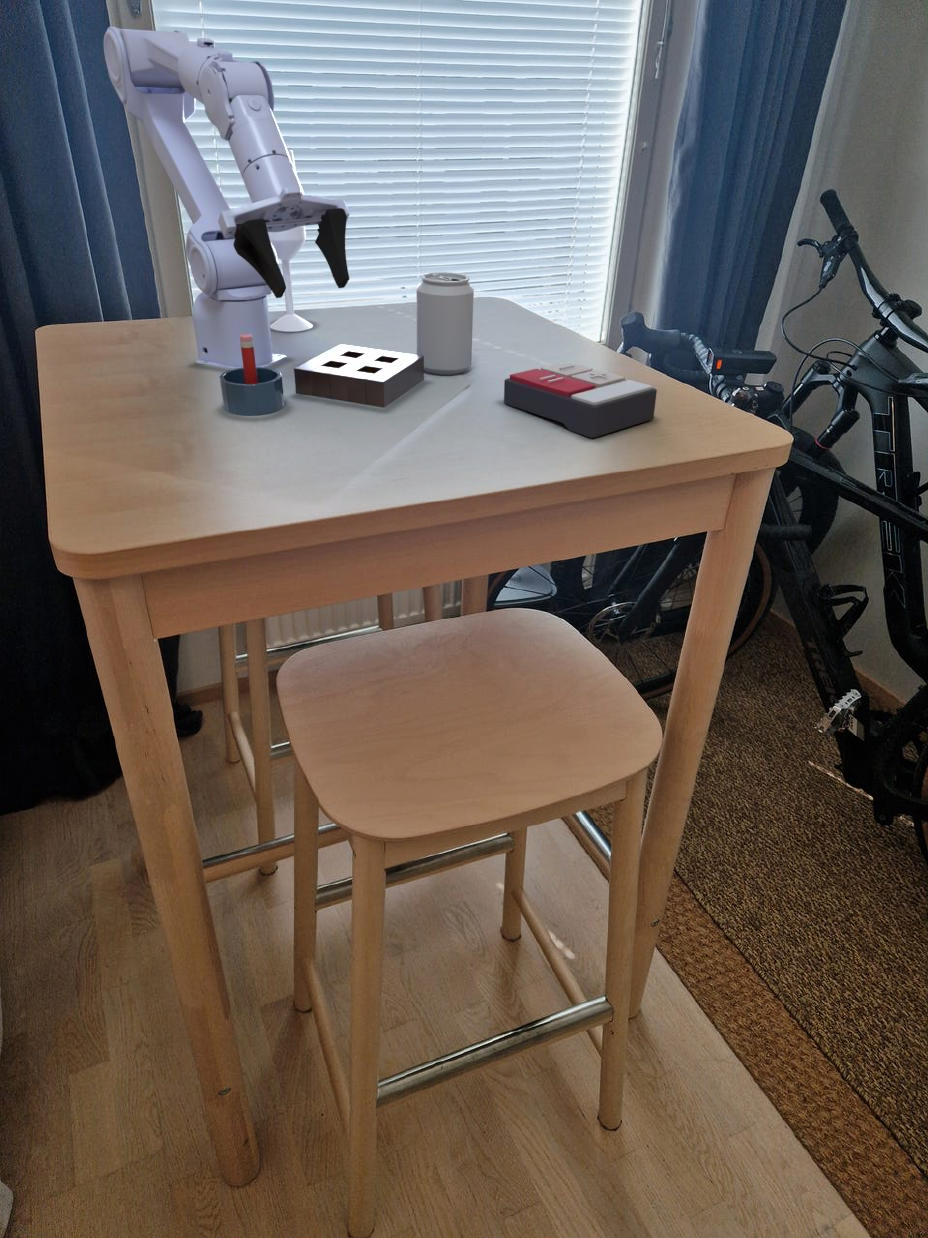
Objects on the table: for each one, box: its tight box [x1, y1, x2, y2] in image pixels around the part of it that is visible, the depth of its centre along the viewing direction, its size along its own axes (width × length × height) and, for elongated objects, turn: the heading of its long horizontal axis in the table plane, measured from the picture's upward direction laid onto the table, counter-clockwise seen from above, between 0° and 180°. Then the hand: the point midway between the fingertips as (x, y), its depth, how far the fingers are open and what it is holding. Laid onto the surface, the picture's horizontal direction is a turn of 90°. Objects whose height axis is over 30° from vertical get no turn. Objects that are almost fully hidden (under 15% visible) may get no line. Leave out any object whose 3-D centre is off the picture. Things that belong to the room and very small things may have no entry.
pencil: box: [240, 334, 258, 384], centre depth 92 cm, size 1×1×8 cm
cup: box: [219, 367, 285, 417], centre depth 93 cm, size 7×7×4 cm
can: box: [416, 271, 475, 376], centre depth 106 cm, size 8×8×12 cm
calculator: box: [503, 361, 658, 439], centre depth 96 cm, size 11×4×15 cm
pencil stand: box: [293, 343, 425, 409], centre depth 100 cm, size 12×12×4 cm
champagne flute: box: [268, 149, 314, 333], centre depth 119 cm, size 7×7×24 cm
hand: (313, 288), depth 88 cm, fingers open, 7 cm apart
